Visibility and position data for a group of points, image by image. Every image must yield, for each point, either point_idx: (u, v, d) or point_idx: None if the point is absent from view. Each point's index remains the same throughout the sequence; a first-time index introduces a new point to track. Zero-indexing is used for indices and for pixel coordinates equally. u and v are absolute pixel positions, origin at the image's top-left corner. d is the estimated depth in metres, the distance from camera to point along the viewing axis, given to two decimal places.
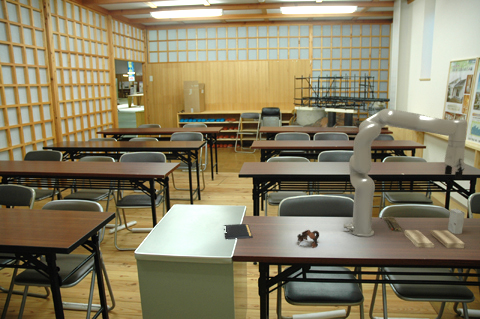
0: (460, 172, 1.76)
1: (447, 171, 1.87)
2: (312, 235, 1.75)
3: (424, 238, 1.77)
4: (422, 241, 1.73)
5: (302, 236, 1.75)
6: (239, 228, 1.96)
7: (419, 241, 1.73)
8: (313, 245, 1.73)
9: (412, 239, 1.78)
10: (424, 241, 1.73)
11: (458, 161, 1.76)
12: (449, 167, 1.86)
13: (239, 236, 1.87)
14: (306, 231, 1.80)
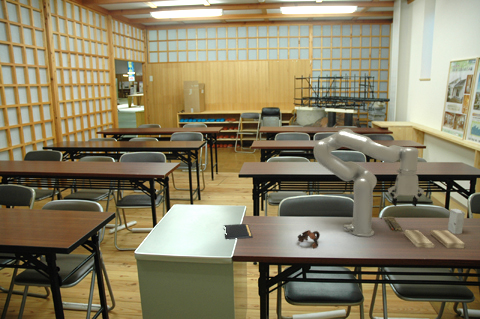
0: None
1: None
2: (312, 235, 1.74)
3: (424, 238, 1.77)
4: (422, 241, 1.73)
5: (302, 236, 1.74)
6: (239, 228, 1.96)
7: (419, 241, 1.73)
8: (313, 245, 1.73)
9: (412, 239, 1.78)
10: (424, 241, 1.73)
11: None
12: None
13: (239, 236, 1.87)
14: (306, 231, 1.79)
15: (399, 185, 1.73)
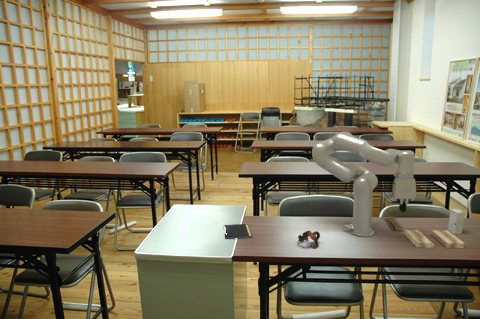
0: None
1: None
2: (313, 236, 1.74)
3: (424, 238, 1.77)
4: (422, 241, 1.73)
5: (303, 237, 1.74)
6: (239, 228, 1.96)
7: (419, 241, 1.73)
8: (314, 246, 1.73)
9: (412, 239, 1.78)
10: (424, 241, 1.73)
11: None
12: None
13: (239, 236, 1.87)
14: (307, 232, 1.79)
15: (397, 189, 1.73)
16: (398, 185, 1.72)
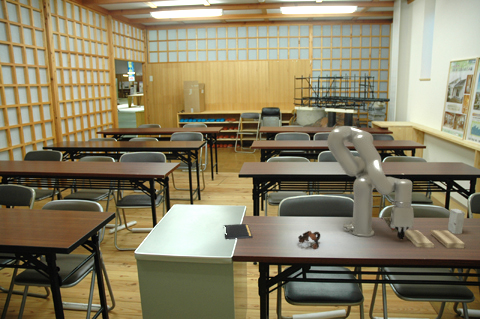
0: None
1: None
2: (313, 236, 1.74)
3: (424, 238, 1.77)
4: (422, 241, 1.73)
5: (303, 237, 1.73)
6: (239, 228, 1.96)
7: (419, 241, 1.73)
8: (314, 246, 1.72)
9: (412, 239, 1.78)
10: (424, 241, 1.73)
11: None
12: None
13: (239, 236, 1.87)
14: (307, 232, 1.79)
15: (395, 217, 1.76)
16: (396, 213, 1.75)
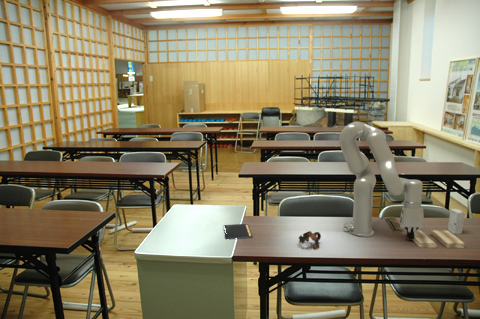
0: None
1: None
2: (314, 236, 1.73)
3: (427, 238, 1.77)
4: (425, 241, 1.73)
5: (304, 237, 1.73)
6: (239, 228, 1.96)
7: (421, 241, 1.73)
8: (315, 247, 1.72)
9: (415, 239, 1.78)
10: (427, 241, 1.73)
11: None
12: None
13: (239, 236, 1.87)
14: (307, 232, 1.78)
15: (404, 217, 1.75)
16: (406, 214, 1.75)
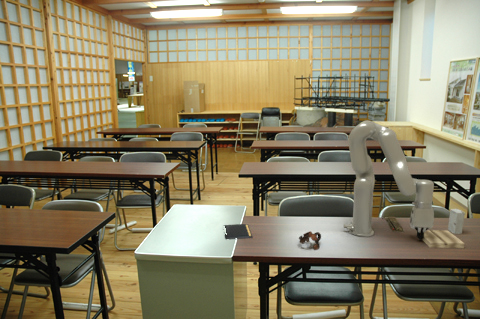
0: None
1: None
2: (314, 237, 1.73)
3: (436, 238, 1.76)
4: (435, 241, 1.73)
5: (304, 238, 1.72)
6: (238, 228, 1.96)
7: (431, 242, 1.73)
8: (315, 247, 1.71)
9: (424, 239, 1.78)
10: (437, 241, 1.73)
11: None
12: None
13: (239, 236, 1.87)
14: (308, 233, 1.78)
15: (415, 217, 1.75)
16: (416, 214, 1.75)
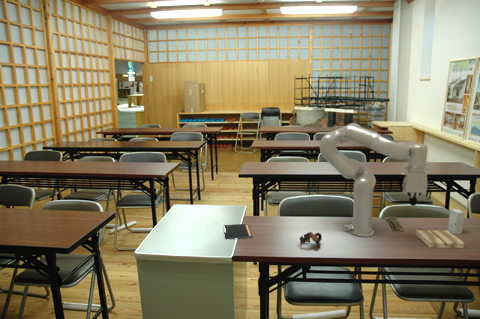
0: None
1: None
2: (315, 237, 1.72)
3: (436, 238, 1.76)
4: (435, 241, 1.73)
5: (305, 238, 1.72)
6: (238, 228, 1.96)
7: (431, 242, 1.73)
8: (316, 247, 1.71)
9: (424, 239, 1.78)
10: (437, 241, 1.73)
11: None
12: None
13: (239, 236, 1.87)
14: (308, 233, 1.77)
15: (408, 182, 1.72)
16: (409, 178, 1.72)
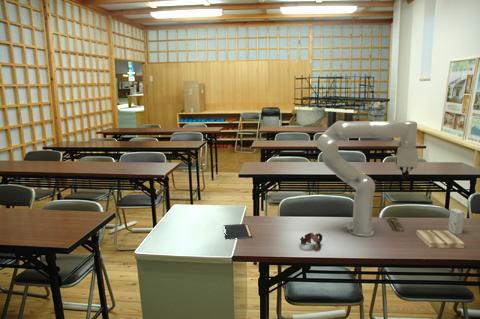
0: None
1: None
2: (316, 238, 1.71)
3: (436, 238, 1.76)
4: (435, 241, 1.73)
5: (305, 239, 1.71)
6: (238, 228, 1.96)
7: (431, 242, 1.73)
8: (317, 248, 1.70)
9: (424, 239, 1.78)
10: (437, 241, 1.73)
11: None
12: None
13: (239, 236, 1.87)
14: (309, 234, 1.76)
15: (400, 157, 1.83)
16: (401, 153, 1.82)
